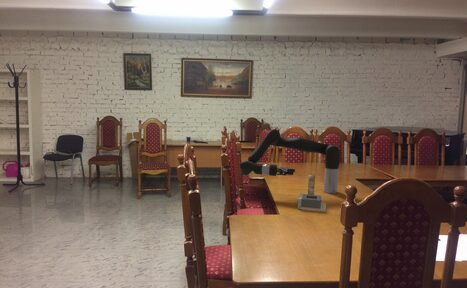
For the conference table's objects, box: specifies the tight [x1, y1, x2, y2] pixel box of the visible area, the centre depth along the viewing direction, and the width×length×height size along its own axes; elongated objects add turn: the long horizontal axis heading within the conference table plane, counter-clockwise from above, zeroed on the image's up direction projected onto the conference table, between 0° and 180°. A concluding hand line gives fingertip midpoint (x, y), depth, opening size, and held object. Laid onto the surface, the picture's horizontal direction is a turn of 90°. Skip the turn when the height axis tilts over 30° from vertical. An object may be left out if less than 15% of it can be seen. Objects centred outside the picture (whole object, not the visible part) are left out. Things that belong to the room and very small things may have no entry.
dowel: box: [307, 174, 316, 195], centre depth 235 cm, size 4×4×16 cm
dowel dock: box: [297, 192, 327, 213], centre depth 220 cm, size 14×16×6 cm
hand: (294, 172), depth 236 cm, fingers open, 8 cm apart
